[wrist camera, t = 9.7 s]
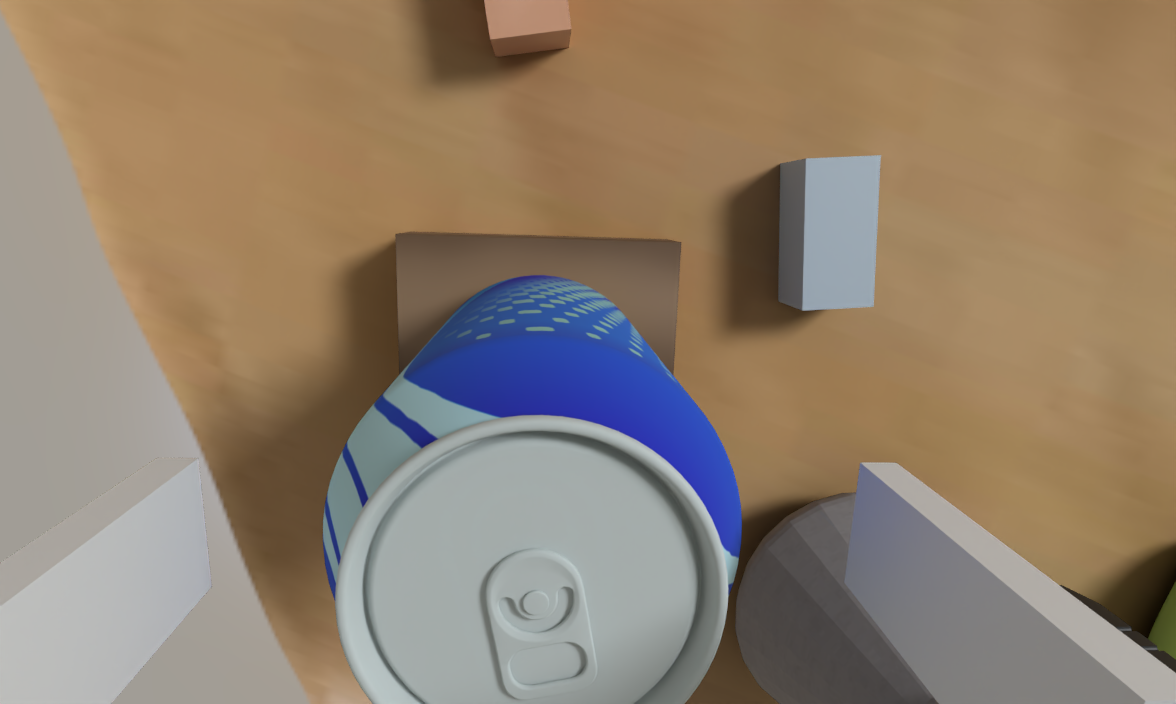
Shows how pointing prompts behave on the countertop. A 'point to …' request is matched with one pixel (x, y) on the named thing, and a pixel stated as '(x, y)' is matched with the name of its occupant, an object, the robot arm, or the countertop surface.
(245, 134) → the countertop surface
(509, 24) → the terracotta brick
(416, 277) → the walnut slab
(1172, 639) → the teapot
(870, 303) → the greyblue brick
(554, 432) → the beer can
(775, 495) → the countertop surface
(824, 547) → the coffee pot
